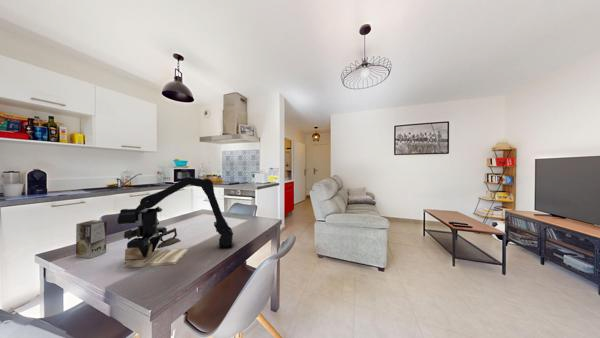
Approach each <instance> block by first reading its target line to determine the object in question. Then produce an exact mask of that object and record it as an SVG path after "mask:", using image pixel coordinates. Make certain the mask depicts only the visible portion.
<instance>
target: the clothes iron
mask: <svg viewBox="0 0 600 338" xmlns="http://www.w3.org/2000/svg"><path fill="white" fill-rule="evenodd" d="M172 233H174V236H173V237H169V238H166V239H165V240H164V239H163V237H164V236H168V235H169V234H172ZM159 234H160V235H163V236H162V238H161V239H160V241H159V243H158V245H157V247H156V249H161V248H165V247H168V246H169V247H170V246H172V245H175V244H177V243H179V242H181V239H179V238H176V237H177V236H178V233H177V228H176V227H174V228H173V229H170V230H167V232H166V233H165V234H162V233H159Z"/></svg>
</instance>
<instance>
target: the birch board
mask: <svg viewBox="0 0 600 338" xmlns="http://www.w3.org/2000/svg"><path fill="white" fill-rule="evenodd" d="M188 251H189V248H176V249H160V250H154V252H152V255H150V256H149V257H148V258H146V259H145V260H130V261H127V263H125V264H124V265H123V269H126V268H139V267H140V268H141V267H142V268H144V267H154V266H167V265H169V266H170V265H176V264H177V262H179V261H180V260H181V259H182V258H183V257H184V256H185V255H186V254H187V252H188Z"/></svg>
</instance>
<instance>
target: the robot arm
mask: <svg viewBox="0 0 600 338" xmlns="http://www.w3.org/2000/svg"><path fill="white" fill-rule="evenodd" d="M189 185H190V186H195V187H199V188H201V189H202V191H203V192H204V194H205V196H206V197H207V200H208V203H209V204H210V207H211V210H212V213H213V215H214V218H215V221H214V222H213V226H214V228H215V232H216V233H217V234H219V235H220V237H219V238H218V246H219V247H218V249H231V248H232V247H233V245H234V232H233V229H232V228H231V226H229V223H228V221H226V219H225V217H224V216H223V213H222V211H221V208H220V205H219V203H218V200H217V198H216V194H215V190H214V183H213V180H212V179H211V178H206V177H205V178H204V179H203V178H199V177H192V176H187V177H185V178H184V179H182V180H180V181H178V182H176V183H174V184H172V185H170V186H168V187H167V188H165V189H162V190H160V191H157V192H154V193H152V194H149V195H146V196H144V197H142V198H141V199H140V201H139V205H138V206H137V207H135V208H122V209H120V210H119V211H120V212H119V214H118V217H117V224H118V225H121V226H122V225H128V224H129V225H130V224H137V223H138V221H140V222H141V223H140V225H138V226H137V228H135V229H128V230H125V231H124V233H123V238H124V239H127V240H129V241H128V242H127V244H126V249H128V248H139V250H140V251H141V254H142V256H143V257H147V254H148V252H149V249H150V246H151V244H152V252H154V251H156V249H157V246H158V245H159V244H160V242H161V241H160V239H161V238H162V239H163V237H164V236H163V235H160V234H165V233H166V232H167V231H168V229H167V228H166V227H165V226H158V225H160V222H159V221H158V213H161V212H163V209H162V208H161V207H160V206H156V205H157V204H159V203H160V202H162V201H163V200H164V199H166V198H167V197H169V196H170V195H173V194H174V193H176V192H178V191H179V190H182V189H184V188H185V187H187V186H189ZM155 206H156V207H155ZM154 207H155V208H154ZM145 209H146V210H145ZM162 236H163V237H162Z"/></svg>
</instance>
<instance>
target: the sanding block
mask: <svg viewBox="0 0 600 338" xmlns="http://www.w3.org/2000/svg"><path fill="white" fill-rule="evenodd" d="M150 255H152V244H151V246H150V249H149V252H148V254H147V257H143V256H142V254H141V251H140V250H139V248H125V250H124V261H125V262H126V261H127V262H129V261H131V260H145V259H146V258H148V257H149V256H150Z"/></svg>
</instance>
